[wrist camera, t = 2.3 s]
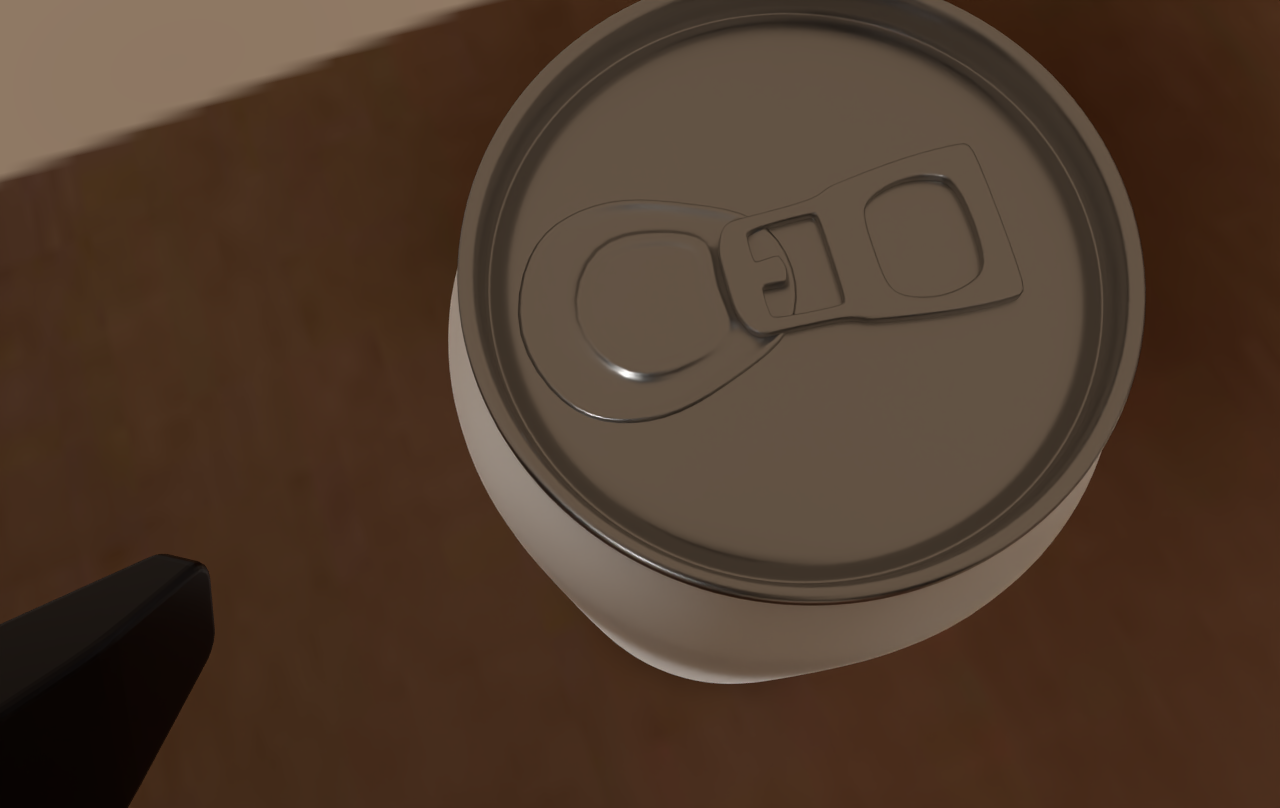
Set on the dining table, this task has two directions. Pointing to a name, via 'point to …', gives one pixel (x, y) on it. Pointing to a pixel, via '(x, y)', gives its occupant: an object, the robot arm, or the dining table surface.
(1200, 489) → the dining table surface
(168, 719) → the robot arm
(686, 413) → the can
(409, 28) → the dining table surface
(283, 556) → the dining table surface
